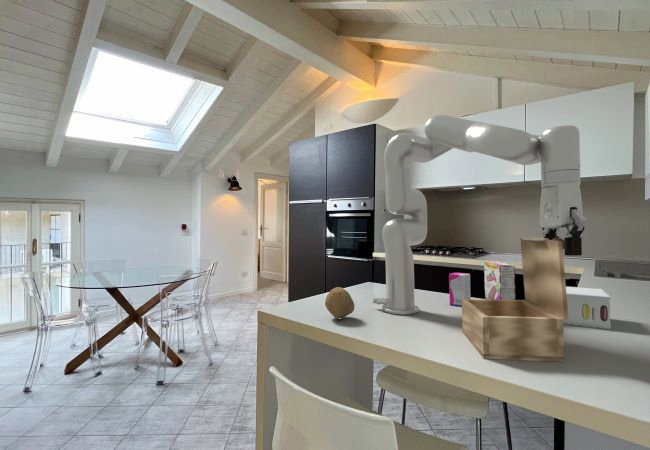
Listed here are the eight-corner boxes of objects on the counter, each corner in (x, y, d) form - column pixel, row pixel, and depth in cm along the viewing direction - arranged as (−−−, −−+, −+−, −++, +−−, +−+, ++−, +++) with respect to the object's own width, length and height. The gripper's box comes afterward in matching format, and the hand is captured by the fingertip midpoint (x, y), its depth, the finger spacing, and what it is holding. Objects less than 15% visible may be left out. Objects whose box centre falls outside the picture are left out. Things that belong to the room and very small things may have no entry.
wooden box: (483, 358, 72) (482, 317, 72) (462, 332, 89) (461, 299, 89) (564, 361, 69) (563, 319, 69) (526, 334, 87) (525, 300, 87)
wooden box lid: (549, 240, 69) (589, 237, 68) (513, 237, 88) (544, 235, 86) (556, 319, 69) (596, 318, 68) (518, 300, 87) (550, 299, 86)
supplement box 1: (471, 304, 120) (470, 273, 120) (465, 307, 116) (464, 275, 116) (455, 302, 124) (454, 272, 124) (449, 305, 120) (448, 273, 120)
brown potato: (320, 316, 107) (320, 286, 107) (345, 313, 111) (344, 283, 111) (332, 324, 99) (331, 290, 99) (358, 320, 102) (357, 288, 102)
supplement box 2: (538, 321, 99) (537, 290, 99) (537, 311, 110) (536, 283, 110) (611, 330, 90) (611, 295, 90) (602, 318, 101) (602, 287, 101)
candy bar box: (484, 308, 114) (483, 261, 114) (498, 308, 114) (497, 261, 114) (500, 317, 103) (499, 265, 103) (516, 317, 103) (515, 264, 103)
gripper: (526, 185, 87) (527, 251, 87) (563, 175, 70) (565, 257, 69) (557, 184, 86) (559, 250, 85) (603, 173, 68) (604, 257, 68)
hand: (561, 253), depth 77 cm, fingers open, 8 cm apart
